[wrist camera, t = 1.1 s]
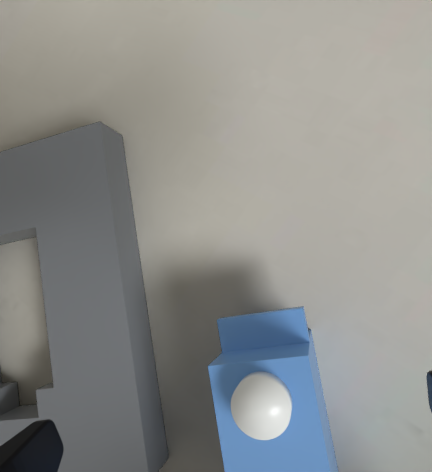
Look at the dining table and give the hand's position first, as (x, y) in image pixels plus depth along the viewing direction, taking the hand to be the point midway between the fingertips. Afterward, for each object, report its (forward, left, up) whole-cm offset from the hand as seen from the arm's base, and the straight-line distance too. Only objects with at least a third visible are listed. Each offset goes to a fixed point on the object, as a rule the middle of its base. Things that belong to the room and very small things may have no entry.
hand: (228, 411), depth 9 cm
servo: (-4, 0, -11) cm, 12 cm away
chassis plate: (+3, +15, -11) cm, 19 cm away
